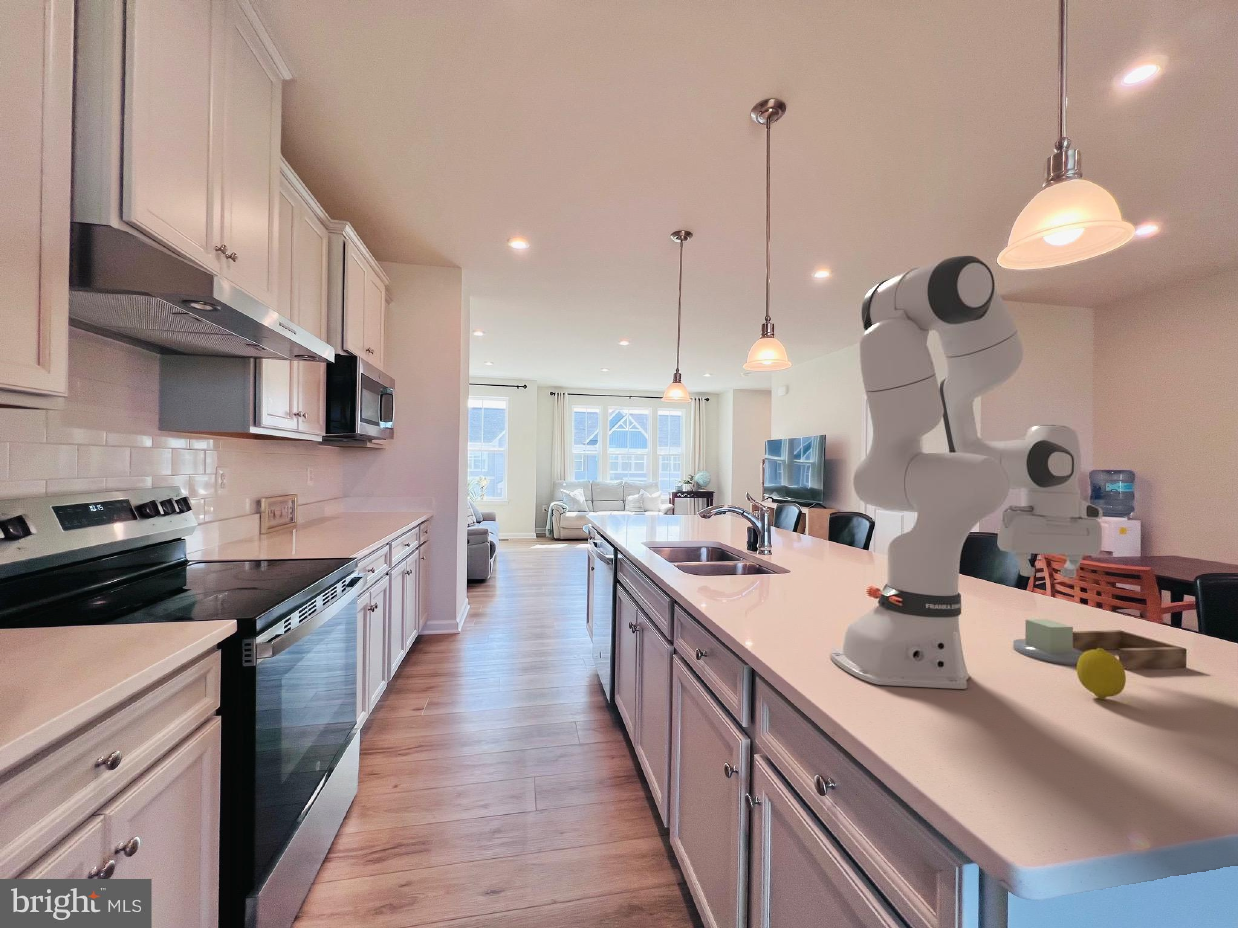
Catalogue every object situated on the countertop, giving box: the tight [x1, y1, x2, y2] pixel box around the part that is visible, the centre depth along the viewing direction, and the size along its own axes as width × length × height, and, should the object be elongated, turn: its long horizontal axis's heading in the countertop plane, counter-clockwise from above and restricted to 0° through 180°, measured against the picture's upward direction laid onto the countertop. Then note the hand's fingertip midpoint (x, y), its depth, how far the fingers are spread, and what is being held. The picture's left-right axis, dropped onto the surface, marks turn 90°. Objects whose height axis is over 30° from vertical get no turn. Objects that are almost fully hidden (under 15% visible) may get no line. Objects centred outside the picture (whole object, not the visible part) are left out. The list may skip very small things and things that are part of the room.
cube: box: [1024, 618, 1074, 653], centre depth 97 cm, size 5×5×5 cm
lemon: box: [1076, 648, 1127, 700], centre depth 77 cm, size 6×6×8 cm
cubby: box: [1073, 629, 1188, 671], centre depth 96 cm, size 14×11×4 cm
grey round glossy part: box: [1012, 638, 1085, 666], centre depth 97 cm, size 11×11×1 cm
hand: (1047, 576), depth 97 cm, fingers open, 8 cm apart
